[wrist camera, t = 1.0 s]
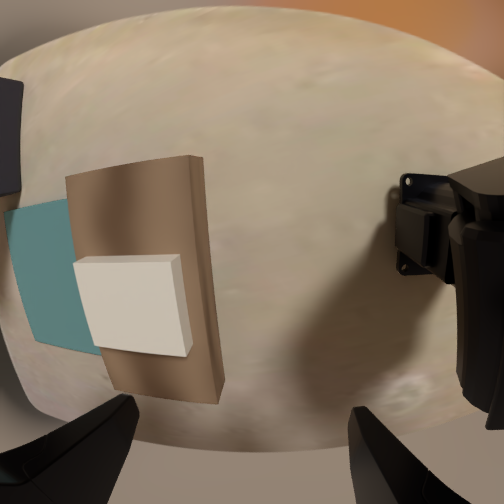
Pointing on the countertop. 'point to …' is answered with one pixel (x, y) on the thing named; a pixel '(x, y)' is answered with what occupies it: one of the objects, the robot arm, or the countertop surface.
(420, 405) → the countertop surface
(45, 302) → the mat
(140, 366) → the wooden board
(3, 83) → the calculator
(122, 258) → the tile
